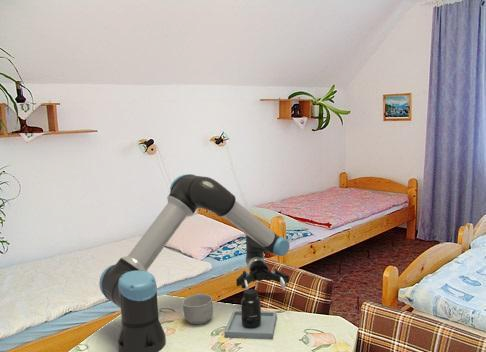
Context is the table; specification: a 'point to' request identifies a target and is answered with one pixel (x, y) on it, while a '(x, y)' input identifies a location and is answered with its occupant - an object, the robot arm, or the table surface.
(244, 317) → the supplement bottle
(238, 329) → the tray
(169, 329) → the table surface
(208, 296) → the teacup
